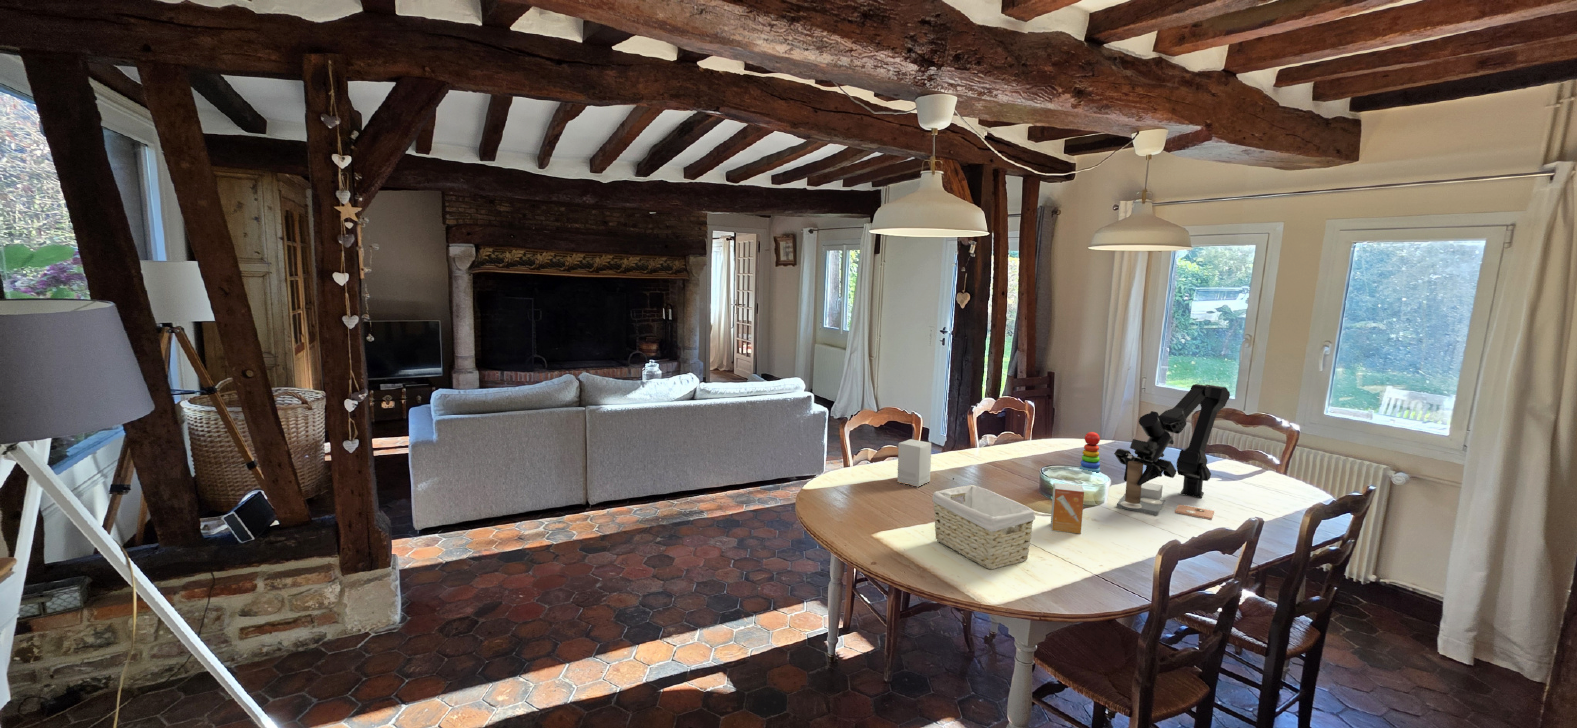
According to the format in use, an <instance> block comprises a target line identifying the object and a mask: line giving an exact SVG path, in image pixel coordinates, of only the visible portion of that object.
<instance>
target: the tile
mask: <svg viewBox="0 0 1577 728" xmlns="http://www.w3.org/2000/svg"><path fill="white" fill-rule="evenodd" d="M1174 513H1176V514H1181V515H1185V516H1190V517H1191V516H1192V517H1197V518H1201V519H1206V520H1212V519H1213V517H1214V514H1215V510H1211V509H1206V508H1201V507H1195V506H1191V505H1185V504H1181V503H1180V504H1179V503H1178V505H1177V506H1176V509H1175V512H1174Z"/></svg>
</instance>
